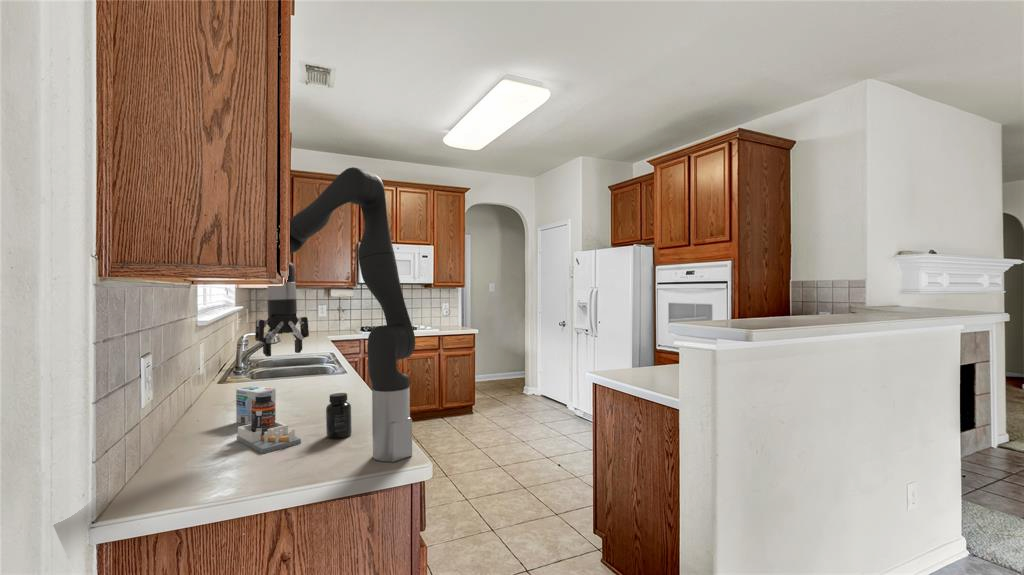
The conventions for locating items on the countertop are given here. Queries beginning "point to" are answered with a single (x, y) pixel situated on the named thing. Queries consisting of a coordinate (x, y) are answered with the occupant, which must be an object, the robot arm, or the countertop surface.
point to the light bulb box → (250, 401)
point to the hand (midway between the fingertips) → (283, 354)
